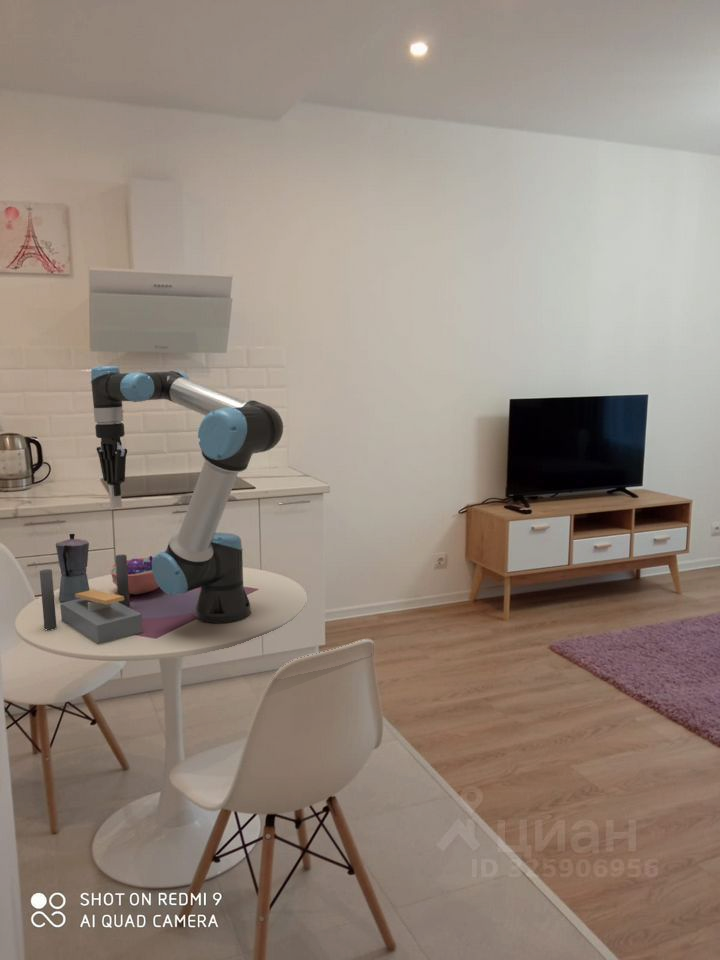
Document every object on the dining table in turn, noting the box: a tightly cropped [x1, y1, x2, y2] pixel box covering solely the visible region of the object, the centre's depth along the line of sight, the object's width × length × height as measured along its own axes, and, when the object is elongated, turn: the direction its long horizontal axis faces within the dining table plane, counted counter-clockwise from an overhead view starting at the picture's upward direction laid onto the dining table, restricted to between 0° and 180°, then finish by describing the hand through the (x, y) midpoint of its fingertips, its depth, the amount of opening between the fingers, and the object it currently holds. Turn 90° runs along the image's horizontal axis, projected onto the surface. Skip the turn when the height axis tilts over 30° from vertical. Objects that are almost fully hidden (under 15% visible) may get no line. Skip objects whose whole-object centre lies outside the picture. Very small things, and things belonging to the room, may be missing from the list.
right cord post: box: [115, 554, 131, 608], centre depth 214 cm, size 3×3×16 cm
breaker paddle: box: [75, 589, 124, 604], centre depth 201 cm, size 20×5×1 cm, turn 42°
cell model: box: [110, 555, 160, 596], centre depth 231 cm, size 17×20×11 cm
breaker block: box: [59, 599, 143, 645], centre depth 202 cm, size 24×12×7 cm, turn 43°
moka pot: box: [55, 533, 91, 603], centre depth 223 cm, size 10×15×20 cm, turn 10°
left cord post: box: [39, 568, 58, 631], centre depth 200 cm, size 3×3×16 cm
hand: (116, 507), depth 210 cm, fingers closed
